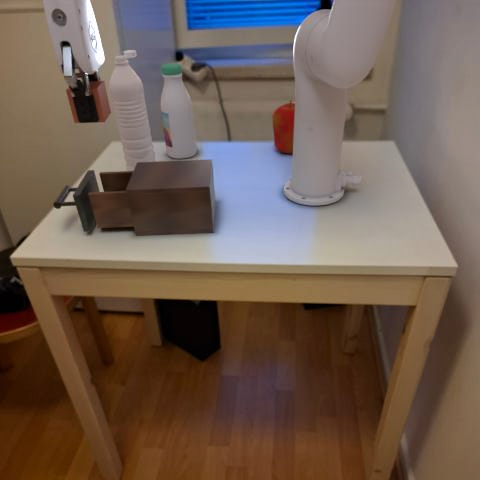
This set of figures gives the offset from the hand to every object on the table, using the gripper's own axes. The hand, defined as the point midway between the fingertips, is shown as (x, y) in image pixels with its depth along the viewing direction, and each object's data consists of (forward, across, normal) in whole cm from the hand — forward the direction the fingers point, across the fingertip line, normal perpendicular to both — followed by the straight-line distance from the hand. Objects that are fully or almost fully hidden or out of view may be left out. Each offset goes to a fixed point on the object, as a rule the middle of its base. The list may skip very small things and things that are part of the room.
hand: (93, 115), depth 73 cm
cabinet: (+20, 0, -12) cm, 23 cm away
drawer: (+19, 0, +1) cm, 19 cm away
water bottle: (+20, +19, -3) cm, 28 cm away
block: (0, 0, 0) cm, 0 cm away
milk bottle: (+20, +34, -10) cm, 40 cm away
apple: (+20, +33, -37) cm, 53 cm away
